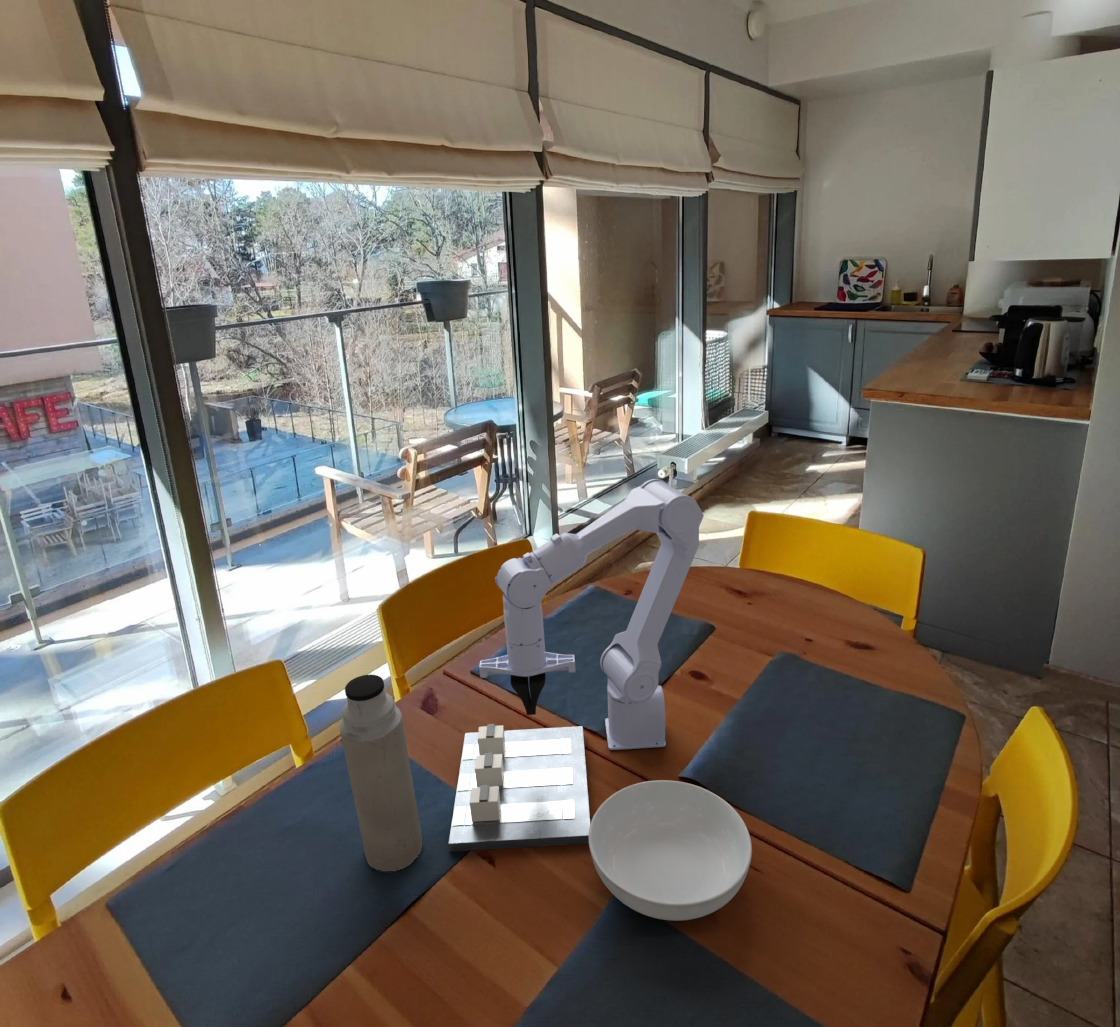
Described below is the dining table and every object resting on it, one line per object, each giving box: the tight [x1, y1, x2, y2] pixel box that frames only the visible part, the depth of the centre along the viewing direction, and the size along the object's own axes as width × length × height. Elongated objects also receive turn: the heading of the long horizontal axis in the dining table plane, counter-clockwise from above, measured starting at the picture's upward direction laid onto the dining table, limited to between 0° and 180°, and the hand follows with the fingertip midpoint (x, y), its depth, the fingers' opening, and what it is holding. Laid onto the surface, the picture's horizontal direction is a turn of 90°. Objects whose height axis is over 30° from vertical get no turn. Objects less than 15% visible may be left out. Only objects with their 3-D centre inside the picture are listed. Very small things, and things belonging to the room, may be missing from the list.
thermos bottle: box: [339, 674, 423, 872], centre depth 100 cm, size 8×8×28 cm
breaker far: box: [478, 723, 505, 755], centre depth 121 cm, size 4×3×4 cm
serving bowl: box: [588, 779, 753, 922], centre depth 98 cm, size 21×21×7 cm
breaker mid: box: [475, 752, 504, 787], centre depth 114 cm, size 4×3×4 cm
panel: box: [448, 725, 591, 852], centre depth 115 cm, size 20×24×2 cm
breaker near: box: [470, 785, 501, 822], centre depth 108 cm, size 4×3×4 cm
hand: (531, 710), depth 116 cm, fingers closed
